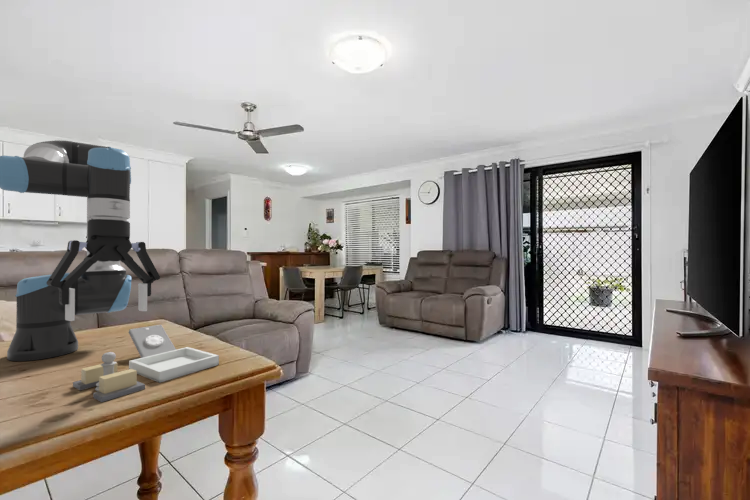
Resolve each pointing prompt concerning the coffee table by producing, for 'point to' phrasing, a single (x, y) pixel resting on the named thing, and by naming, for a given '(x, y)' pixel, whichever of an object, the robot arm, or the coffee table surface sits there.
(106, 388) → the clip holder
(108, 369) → the chess piece
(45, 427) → the coffee table surface
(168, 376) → the parts tray
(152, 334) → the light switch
